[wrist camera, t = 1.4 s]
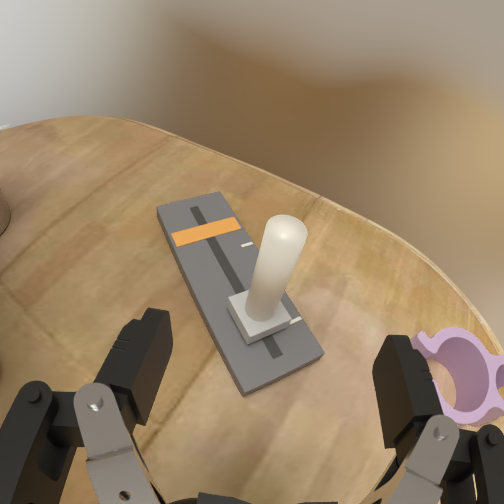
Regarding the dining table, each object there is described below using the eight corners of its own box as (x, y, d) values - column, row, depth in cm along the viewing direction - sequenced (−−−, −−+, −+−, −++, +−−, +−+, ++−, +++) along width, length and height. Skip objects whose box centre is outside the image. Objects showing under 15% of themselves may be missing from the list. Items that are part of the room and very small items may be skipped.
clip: (488, 366, 36) (517, 346, 31) (487, 440, 28) (522, 427, 23) (389, 339, 38) (417, 313, 33) (378, 429, 30) (412, 416, 24)
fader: (226, 306, 35) (242, 214, 24) (265, 291, 37) (296, 201, 26) (247, 344, 32) (275, 264, 21) (287, 327, 34) (331, 244, 23)
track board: (157, 216, 45) (156, 206, 43) (218, 201, 49) (220, 190, 47) (242, 396, 31) (245, 392, 29) (318, 359, 35) (325, 352, 33)
